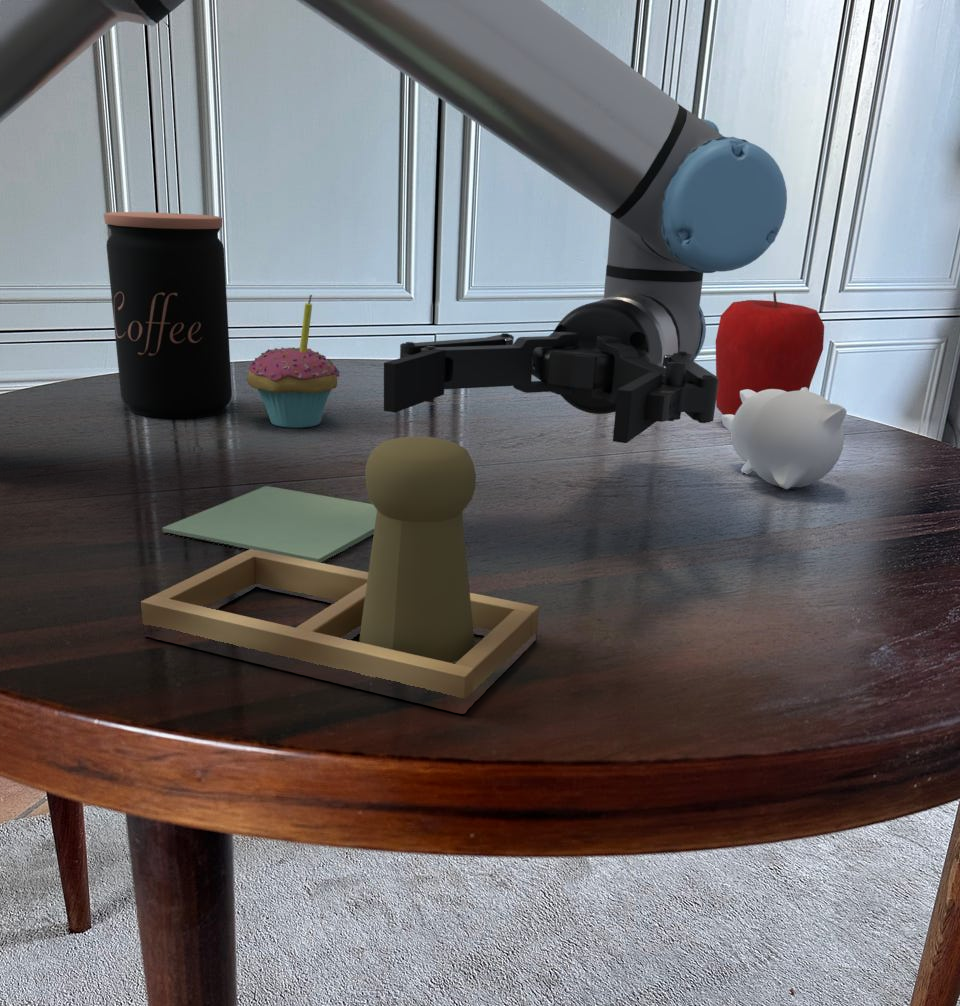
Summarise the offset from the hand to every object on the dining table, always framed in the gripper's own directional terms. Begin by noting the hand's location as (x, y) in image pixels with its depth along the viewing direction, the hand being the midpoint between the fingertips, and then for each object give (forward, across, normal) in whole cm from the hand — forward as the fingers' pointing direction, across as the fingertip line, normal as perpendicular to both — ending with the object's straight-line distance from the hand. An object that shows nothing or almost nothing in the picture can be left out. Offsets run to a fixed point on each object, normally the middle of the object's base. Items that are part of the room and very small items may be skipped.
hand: (500, 401), depth 55 cm
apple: (-58, -6, -12) cm, 60 cm away
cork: (+10, 0, -12) cm, 15 cm away
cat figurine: (-37, -12, -12) cm, 41 cm away
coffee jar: (-31, +47, -11) cm, 58 cm away
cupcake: (-32, +34, -11) cm, 49 cm away
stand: (+10, +4, -11) cm, 15 cm away
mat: (-5, +17, -11) cm, 21 cm away
